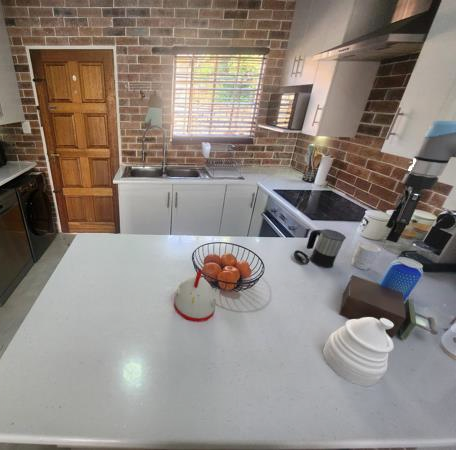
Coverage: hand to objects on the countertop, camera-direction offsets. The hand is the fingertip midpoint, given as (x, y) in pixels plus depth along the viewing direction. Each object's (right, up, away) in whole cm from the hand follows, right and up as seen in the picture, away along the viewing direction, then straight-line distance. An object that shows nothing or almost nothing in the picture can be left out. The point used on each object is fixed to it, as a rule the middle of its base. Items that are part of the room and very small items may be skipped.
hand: (390, 233), depth 87 cm
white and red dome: (-69, -25, -1) cm, 74 cm away
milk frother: (-11, -14, +27) cm, 32 cm away
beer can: (+6, -24, +7) cm, 26 cm away
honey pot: (-28, -36, -18) cm, 49 cm away
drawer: (-5, -29, -5) cm, 29 cm away
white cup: (+10, -15, +25) cm, 31 cm away
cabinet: (-9, -28, -1) cm, 29 cm away
